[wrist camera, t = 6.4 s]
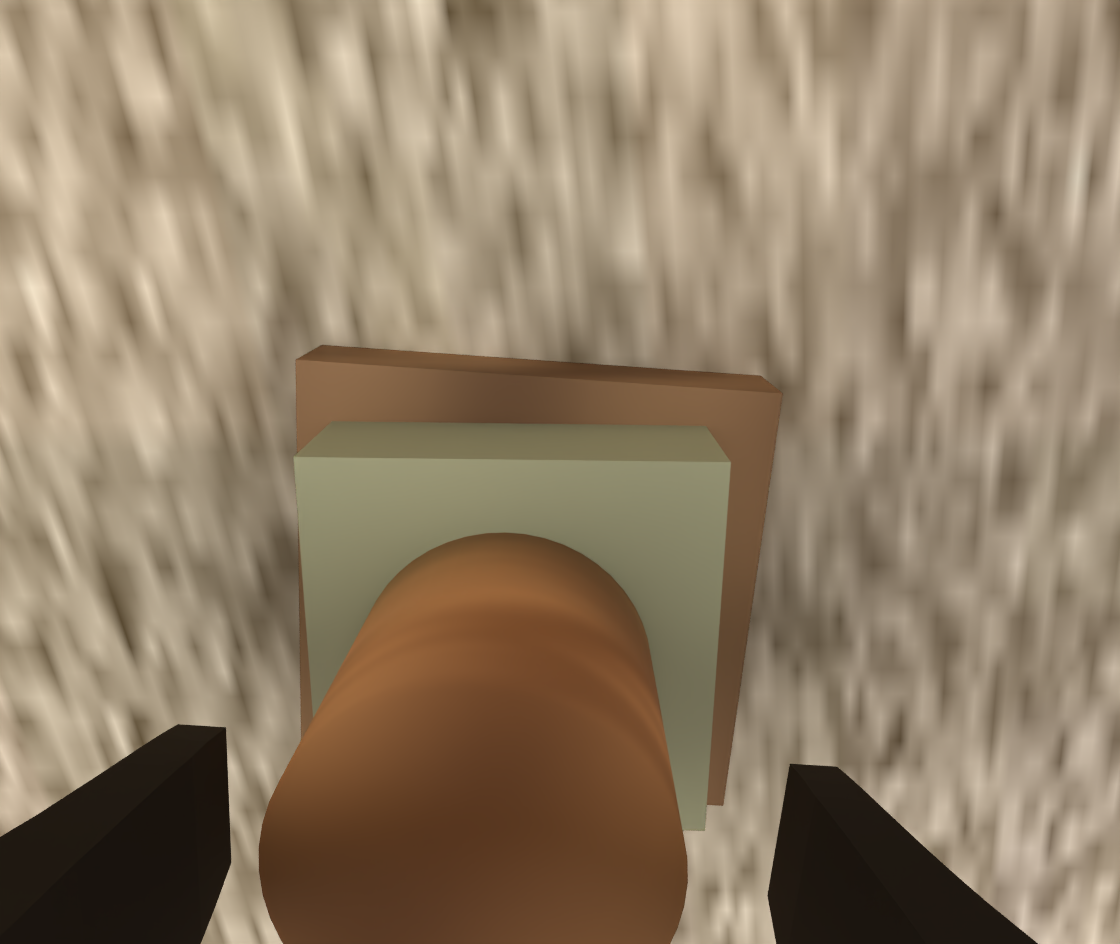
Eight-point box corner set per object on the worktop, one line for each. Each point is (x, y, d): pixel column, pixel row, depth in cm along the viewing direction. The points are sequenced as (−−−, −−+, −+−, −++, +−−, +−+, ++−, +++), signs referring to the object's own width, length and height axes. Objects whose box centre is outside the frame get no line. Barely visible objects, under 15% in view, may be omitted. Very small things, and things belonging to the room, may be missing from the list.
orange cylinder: (707, 626, 15) (773, 816, 10) (555, 841, 16) (547, 1105, 11) (448, 477, 14) (384, 603, 9) (309, 713, 15) (189, 934, 11)
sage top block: (705, 426, 16) (731, 462, 14) (685, 749, 18) (704, 830, 16) (332, 421, 16) (293, 456, 14) (352, 746, 18) (321, 827, 16)
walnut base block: (754, 370, 19) (782, 393, 16) (704, 738, 21) (723, 805, 19) (329, 340, 18) (295, 360, 16) (330, 715, 21) (301, 781, 19)
